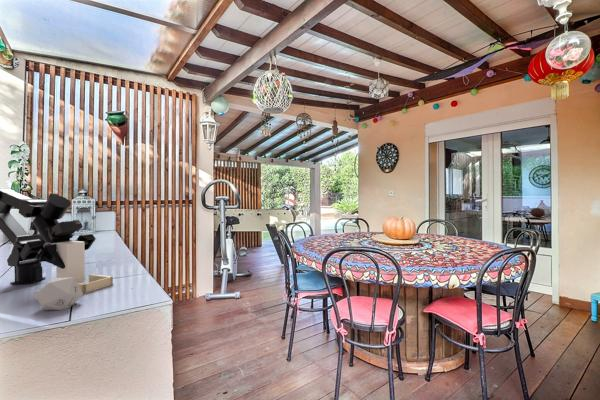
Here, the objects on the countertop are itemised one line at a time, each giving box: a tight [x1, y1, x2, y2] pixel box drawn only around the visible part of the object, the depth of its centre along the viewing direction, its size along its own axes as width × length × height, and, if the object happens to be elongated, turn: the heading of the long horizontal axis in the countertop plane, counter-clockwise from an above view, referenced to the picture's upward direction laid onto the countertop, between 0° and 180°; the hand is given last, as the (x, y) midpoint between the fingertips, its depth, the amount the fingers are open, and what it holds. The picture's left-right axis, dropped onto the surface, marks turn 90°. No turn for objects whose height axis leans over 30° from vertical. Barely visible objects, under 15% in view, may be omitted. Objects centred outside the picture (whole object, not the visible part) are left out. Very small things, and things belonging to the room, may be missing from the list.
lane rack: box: [77, 273, 115, 295], centre depth 89 cm, size 16×10×3 cm, turn 70°
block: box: [56, 240, 86, 283], centre depth 90 cm, size 5×5×13 cm
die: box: [34, 277, 84, 311], centre depth 72 cm, size 8×9×10 cm
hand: (73, 265), depth 90 cm, fingers closed on block, 5 cm apart
